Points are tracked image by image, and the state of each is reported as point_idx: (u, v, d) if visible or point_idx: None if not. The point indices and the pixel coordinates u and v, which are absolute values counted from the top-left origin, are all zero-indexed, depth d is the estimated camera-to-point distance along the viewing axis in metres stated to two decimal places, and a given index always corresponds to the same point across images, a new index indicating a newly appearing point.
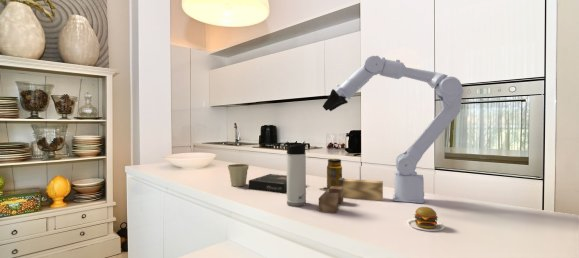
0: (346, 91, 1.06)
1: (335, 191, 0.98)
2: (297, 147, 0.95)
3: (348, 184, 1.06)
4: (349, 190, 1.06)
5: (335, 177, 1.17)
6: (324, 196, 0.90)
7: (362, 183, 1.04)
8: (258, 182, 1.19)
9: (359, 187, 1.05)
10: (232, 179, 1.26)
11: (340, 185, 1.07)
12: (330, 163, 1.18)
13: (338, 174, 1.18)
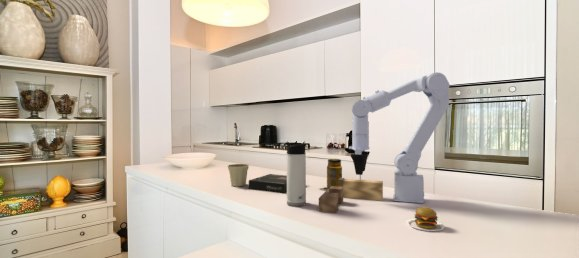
0: (361, 145, 1.03)
1: (335, 191, 0.98)
2: (297, 147, 0.95)
3: (348, 184, 1.06)
4: (349, 190, 1.06)
5: (335, 177, 1.17)
6: (324, 196, 0.90)
7: (362, 183, 1.04)
8: (258, 182, 1.19)
9: (359, 187, 1.05)
10: (232, 179, 1.26)
11: (340, 185, 1.07)
12: (330, 163, 1.18)
13: (338, 174, 1.18)
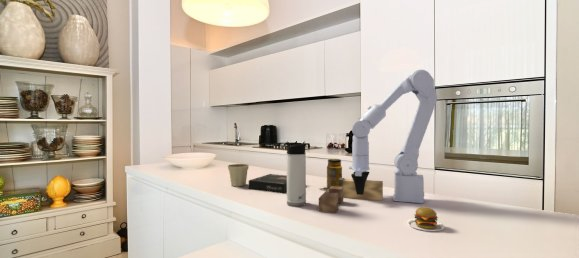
0: (361, 166, 1.03)
1: (335, 191, 0.98)
2: (297, 147, 0.95)
3: (348, 184, 1.06)
4: (349, 190, 1.06)
5: (335, 177, 1.17)
6: (324, 196, 0.90)
7: None
8: (258, 182, 1.19)
9: None
10: (232, 179, 1.26)
11: (340, 185, 1.07)
12: (330, 163, 1.18)
13: (338, 174, 1.18)
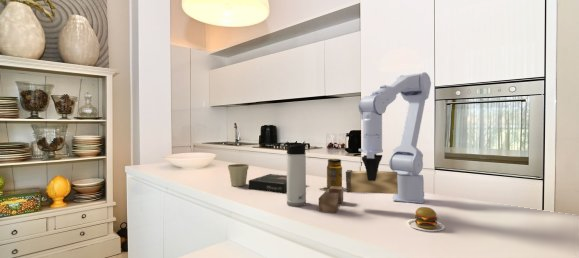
0: (374, 148, 0.88)
1: (335, 191, 0.98)
2: (297, 147, 0.95)
3: (356, 176, 0.91)
4: (358, 183, 0.91)
5: (335, 177, 1.17)
6: (324, 196, 0.90)
7: None
8: (258, 182, 1.19)
9: None
10: (232, 179, 1.26)
11: (348, 178, 0.92)
12: (330, 163, 1.18)
13: (338, 174, 1.18)
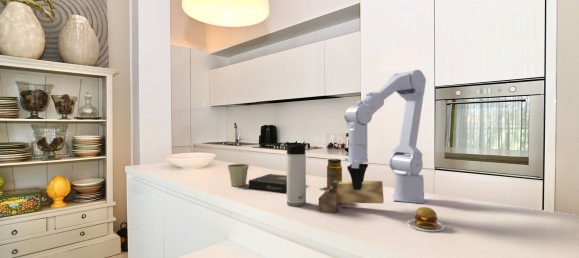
0: (359, 157, 0.90)
1: None
2: (297, 147, 0.95)
3: (342, 187, 0.93)
4: (345, 194, 0.92)
5: (335, 177, 1.17)
6: (324, 196, 0.90)
7: None
8: (258, 182, 1.19)
9: (355, 190, 0.91)
10: (232, 179, 1.26)
11: (334, 189, 0.94)
12: (330, 163, 1.18)
13: (338, 174, 1.18)
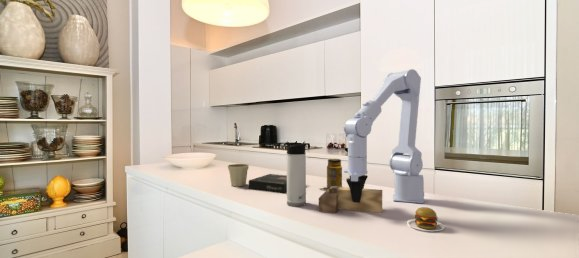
0: (358, 170, 0.90)
1: None
2: (297, 147, 0.95)
3: (342, 193, 0.93)
4: (344, 200, 0.93)
5: (335, 177, 1.17)
6: (324, 196, 0.90)
7: None
8: (258, 182, 1.19)
9: None
10: (232, 179, 1.26)
11: None
12: (330, 163, 1.18)
13: (338, 174, 1.18)
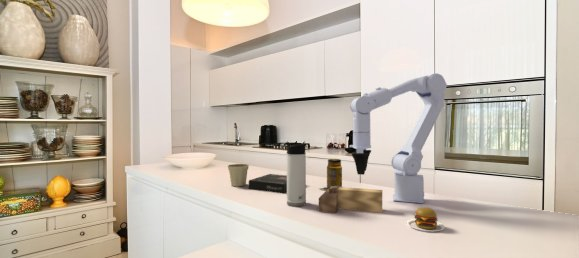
0: (363, 144, 0.98)
1: None
2: (297, 147, 0.95)
3: (342, 193, 0.93)
4: (344, 200, 0.93)
5: (335, 177, 1.17)
6: (324, 196, 0.90)
7: (359, 192, 0.91)
8: (258, 182, 1.19)
9: (355, 197, 0.91)
10: (232, 179, 1.26)
11: None
12: (330, 163, 1.18)
13: (338, 174, 1.18)
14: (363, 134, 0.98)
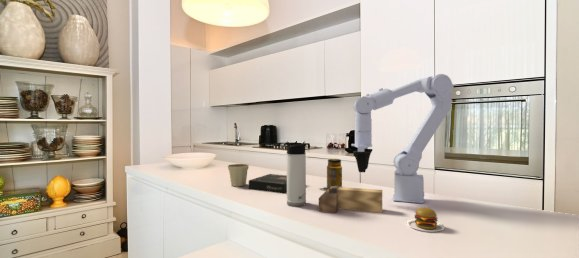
0: (364, 143, 1.02)
1: None
2: (297, 147, 0.95)
3: (342, 193, 0.93)
4: (344, 200, 0.93)
5: (335, 177, 1.17)
6: (324, 196, 0.90)
7: (359, 192, 0.91)
8: (258, 182, 1.19)
9: (355, 197, 0.91)
10: (232, 179, 1.26)
11: None
12: (330, 163, 1.18)
13: (338, 174, 1.18)
14: (364, 133, 1.02)
